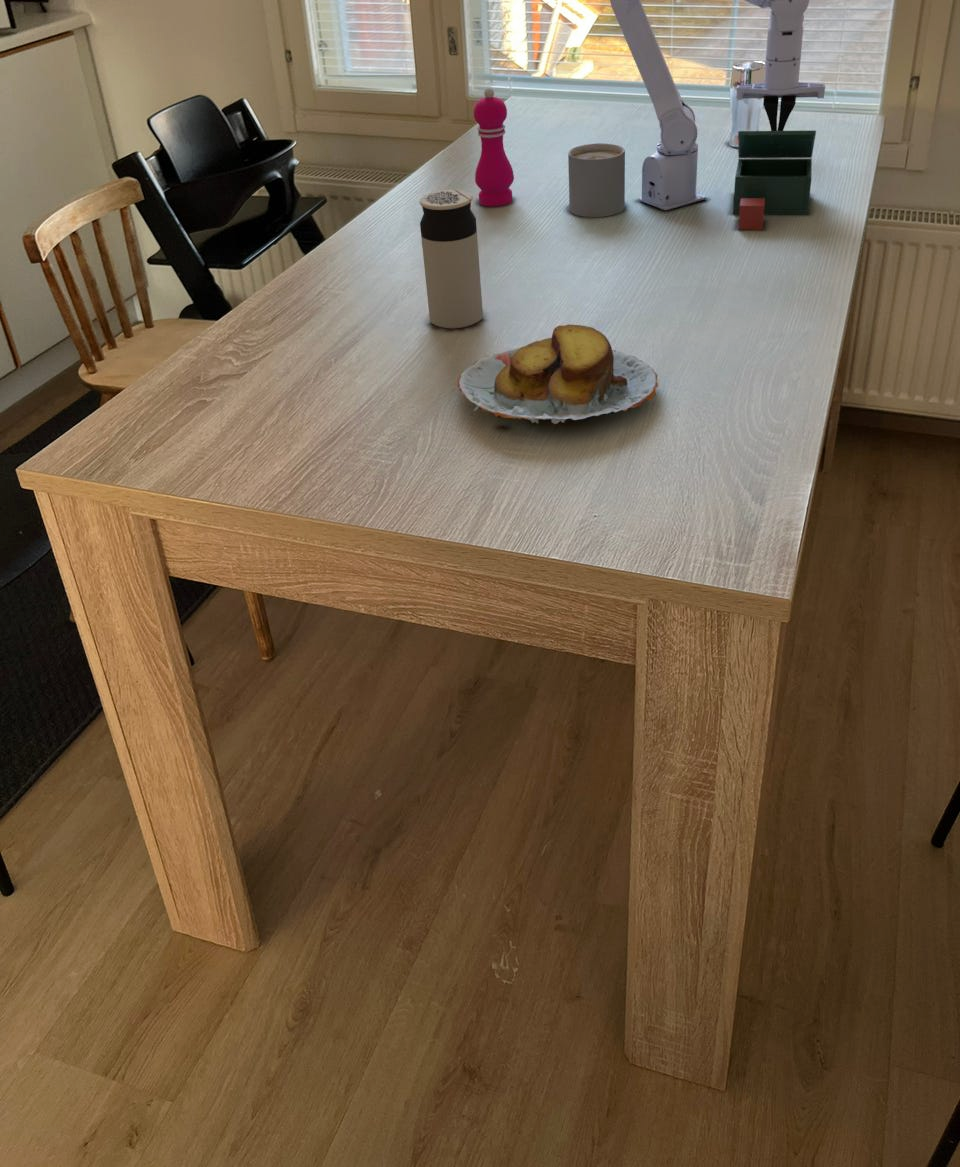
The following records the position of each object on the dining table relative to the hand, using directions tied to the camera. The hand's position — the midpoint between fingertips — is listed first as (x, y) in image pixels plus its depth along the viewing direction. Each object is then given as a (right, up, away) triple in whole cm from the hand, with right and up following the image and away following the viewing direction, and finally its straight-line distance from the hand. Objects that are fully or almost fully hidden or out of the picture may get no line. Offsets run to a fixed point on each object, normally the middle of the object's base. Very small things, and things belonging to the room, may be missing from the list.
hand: (776, 141), depth 197 cm
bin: (0, -10, +2) cm, 11 cm away
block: (-6, -17, -6) cm, 19 cm away
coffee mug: (-30, -9, +8) cm, 32 cm away
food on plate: (-42, -53, -51) cm, 85 cm away
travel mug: (-55, -38, -29) cm, 73 cm away
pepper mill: (-49, -6, +14) cm, 51 cm away
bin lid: (-1, -2, -3) cm, 4 cm away
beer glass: (+2, +12, +33) cm, 35 cm away
